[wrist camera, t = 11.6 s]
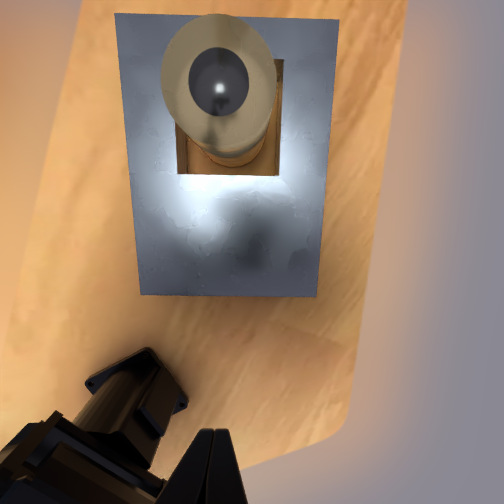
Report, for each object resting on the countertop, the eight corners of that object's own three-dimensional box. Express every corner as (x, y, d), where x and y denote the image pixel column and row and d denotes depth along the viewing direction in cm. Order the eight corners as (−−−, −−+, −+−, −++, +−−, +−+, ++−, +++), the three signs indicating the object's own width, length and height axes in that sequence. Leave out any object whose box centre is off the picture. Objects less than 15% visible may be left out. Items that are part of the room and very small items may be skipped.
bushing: (220, 179, 17) (200, 166, 10) (185, 117, 16) (136, 55, 9) (277, 145, 16) (297, 107, 10) (244, 79, 16) (240, -15, 9)
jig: (307, 284, 19) (316, 297, 16) (154, 282, 19) (140, 295, 16) (325, 48, 15) (339, 19, 13) (136, 43, 15) (114, 13, 13)
